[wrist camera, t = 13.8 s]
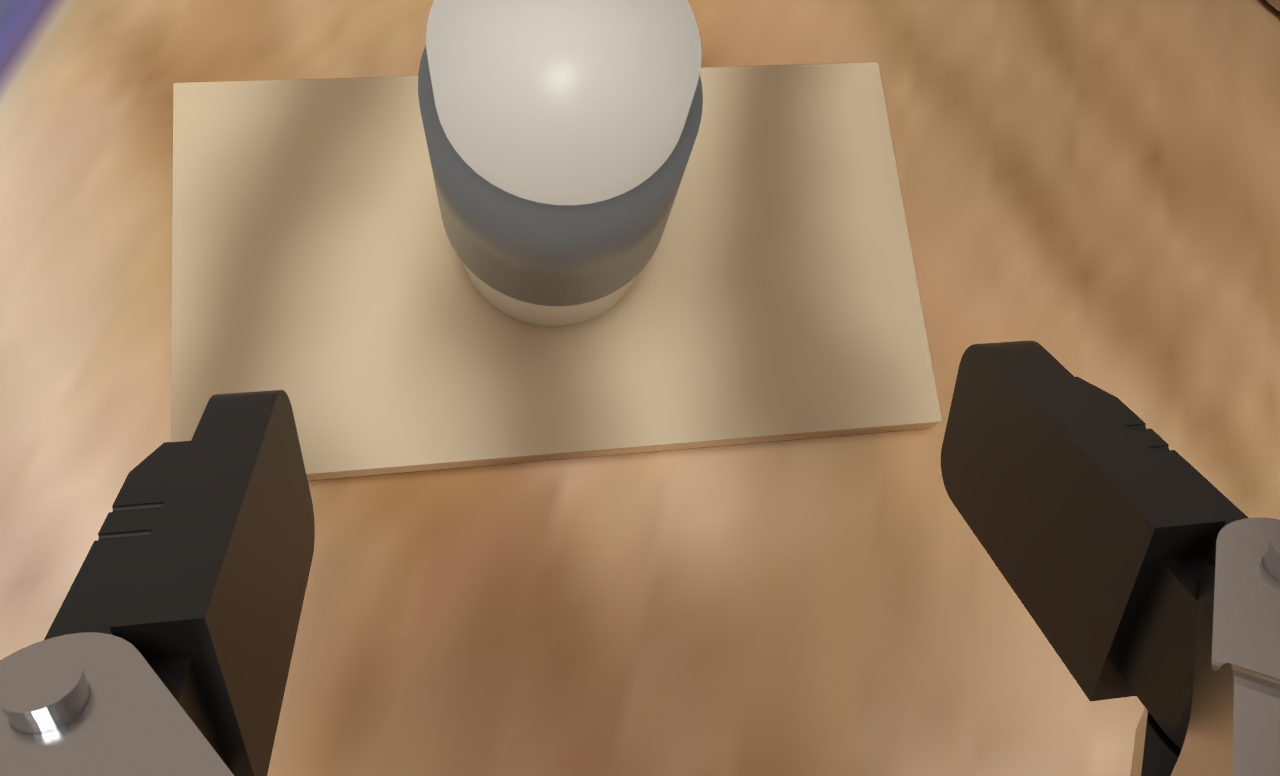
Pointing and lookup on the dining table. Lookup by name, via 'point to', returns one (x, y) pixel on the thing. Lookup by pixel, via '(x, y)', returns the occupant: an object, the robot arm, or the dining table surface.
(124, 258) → the dining table surface
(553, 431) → the oak board
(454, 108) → the grey banded cylinder
